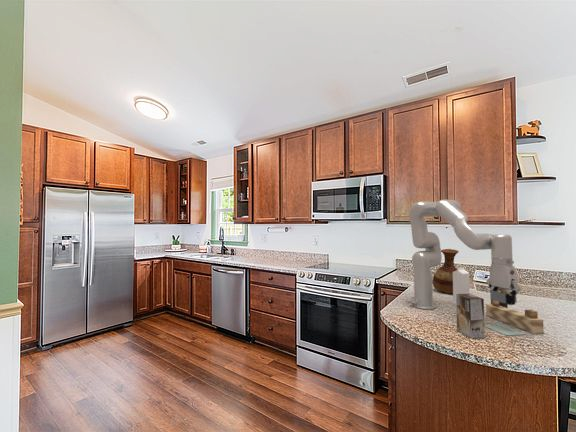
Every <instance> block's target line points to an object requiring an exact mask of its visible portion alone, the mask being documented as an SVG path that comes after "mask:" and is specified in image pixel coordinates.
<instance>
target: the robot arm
mask: <svg viewBox="0 0 576 432" xmlns="http://www.w3.org/2000/svg"><path fill="white" fill-rule="evenodd" d="M408 217H409V221H410V229H411V239H412V244H413V246H414V247H415V248H416V249H424V250H419V251H416V252H414V254H413V255H412V257H411V258H412V259H411V262H412V268H413V278H414V279H413V282H414V283H413V286H414V287H413V288H414V289H413V290H414V291H413V295H414V297H412V298H411V299H406V301H405V302H406V303H407V304H410V305H411V306H412V307H414V308H416V309H417V308H418V309H422V310H435V309H437V305H436V304H435V303H434V295H433V289H434V286H433V272H432V270H431V267H432V268H433V267H434V268H435V267H438V266H440V265H441V263H442V261H443V260H442V257H443V256H442V252H441V250H442V249H441V243H440V242H441V241H440V238H439V236H438V235H437V234H436V233H435V232H432V231H431V232H430V231H429V230H428V223H427V222H426V219H425V217H432V218H433V217H434V218H436V217H441V218H442V219H444V220H445V221H446V223H448V224H449V225H450V226H451V227H452V228H453V231H454V234H455V235H456V237H457V238H458V239H459V241H461V243H463V244H464V245H465V246H466V247H468V248H469V249H472V250H474V251H481V250H482V251H483V250H484V251H485V250H490V251H491V252H490V254H491V257H490V259H491V263H490V266H489V278H488V279H487V280H486V283H487V285H488V288H489V289H490V290H498V289H499V287H500V288H504V289H506V290H507V293H508V295H507V304H508V306H513V305H516V303H515V296H516V297H517V294H519V292H520V291H521V290H522V288H521V286H520V285H519V282H518V275H517V270H516V267H515V266H514V263H515V261H514V260H513V239H512V238H513V237H512V236H511V235H510V234H504V233H503V234H501V233H500V234H499V233H498V234H492V233H477V232H476V231H474V230H473V229H472V228H471V227H470V226H469V225H468V223H467V222H468V220H469V217H468V215H467V214H466V213H465V212H463V211H462V204H461V203H460V202H459V201H458V200H454V199H440V200H438V201H423V200H422V201H417V202H415V203H413V204H412V205H411V207H410V208H409V211H408Z"/></svg>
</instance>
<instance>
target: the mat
mask: <svg viewBox="0 0 576 432" xmlns="http://www.w3.org/2000/svg"><path fill="white" fill-rule="evenodd" d="M484 328H487V329H490V330H492V331H493V332H494V331H495V332H497V333H499V334H502V335H504V336H506V337H510V336H511V337H512V336H513V337H514V336H525V335H526V333H524V332H521V331H519V330H516V329H514V328H511V327H509V326H506V325H504V324H501V323H494V324H493V323H492V324H484Z"/></svg>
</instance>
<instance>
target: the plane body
mask: <svg viewBox="0 0 576 432" xmlns="http://www.w3.org/2000/svg"><path fill="white" fill-rule="evenodd" d="M485 310H486V312H485V317H487V318H491V319H492V320H495V321H498V322H500V323H503V324H505V325H508V326H511V327H513V328H515V329H518V330H520V331H524V332H527V333H528V334H531V335H544V334H545V331H544V319H542V318H538V317H539V316H538V315H539V314H538V311H536V310H533V309H524V313H523V312H521V311H517V310H514V309H511V308H509V307H508V308H506V307H502V306H499V302H498V301H495V300H492V304H491V303H486V304H485Z"/></svg>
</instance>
